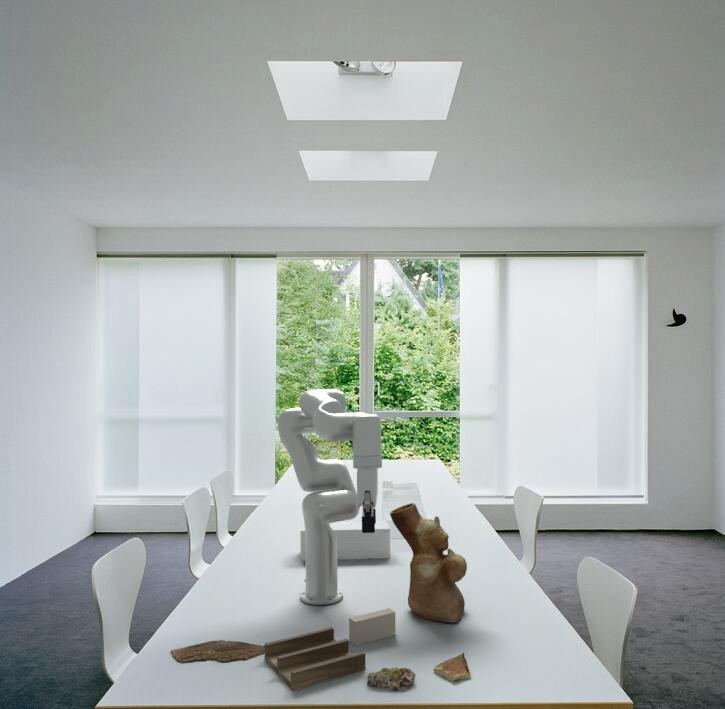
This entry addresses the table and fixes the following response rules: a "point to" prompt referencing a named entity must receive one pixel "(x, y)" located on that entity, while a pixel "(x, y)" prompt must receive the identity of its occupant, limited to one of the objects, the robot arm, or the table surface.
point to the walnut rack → (312, 658)
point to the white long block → (356, 540)
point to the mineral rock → (392, 678)
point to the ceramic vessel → (431, 567)
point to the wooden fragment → (218, 651)
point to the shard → (453, 668)
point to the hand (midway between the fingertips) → (369, 528)
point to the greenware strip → (371, 626)
